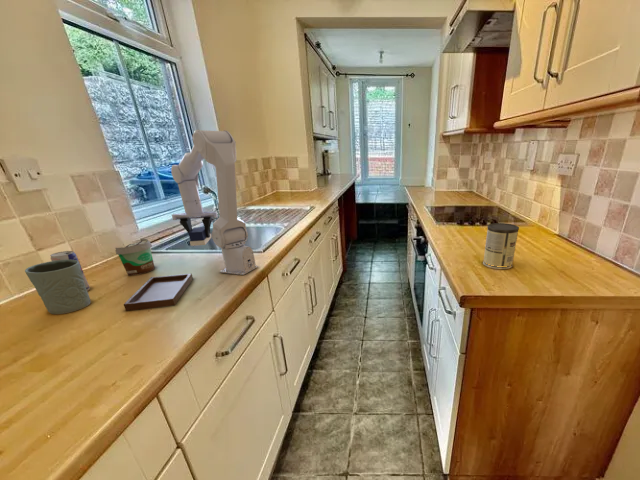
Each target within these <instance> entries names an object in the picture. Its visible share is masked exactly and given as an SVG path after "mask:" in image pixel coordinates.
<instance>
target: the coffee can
mask: <svg viewBox="0 0 640 480" xmlns="http://www.w3.org/2000/svg"><path fill="white" fill-rule="evenodd" d="M519 230H520V227H519V226H518V225H515V224H513V223H512V224H511V223H505V222H493V223H489V224H488V225H487V231H486V239H485V246H484V255H483V262H482V264H483V266H485V267H487V268H489V269H495V270H509V269H511V268H513V264H514V257H515V252H516V246H517V240H518V234H519ZM486 263H487V264H486ZM488 264H490V265H488ZM491 265H494V266H491ZM510 265H511V266H510ZM497 266H507V267H497Z"/></svg>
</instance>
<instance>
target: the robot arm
mask: <svg viewBox="0 0 640 480" xmlns="http://www.w3.org/2000/svg"><path fill="white" fill-rule="evenodd" d="M192 143H193V146H192V148H191V151H190V152H184V154H183V156H182V158H181V160H180V161H179V163H178V164H172V165H171V168H170V172H171V177H172V178H173V180H174V182H175V183H176V184H177V186H178V190H179V194H180V198H181V202H182V205H183V209H184V212H182V213H180V212H177V213H172V214H171V217H172V221H177V220H179V224H180V225H181V226H182V227H183V228H184V229H185V231H186V232H187V234H188V233H189V232H190V231H191V230H192V229H193V226H192V220H193V219H202V220H201V223H202V225H203V227H205V231H206V236H207V238H209V237H210V233H211V239H212V241H213V243H214V244H215V245H216V246H217V247H218V248H220V250H221V253H222V258H223V263H224V269H222V270H219V271H220V272H219V273H220V274H221V273H222V274H229V275H230V274H232V275H240V276H241V275H242V276H244V275H246V274H248V273H250V272H252V271H253V270H255V269H256V268H258V265H256V259H255V254H254V250H253V248H252V247H250V246H247V245H246V244H247V241H248V237H249V233H248V230H247V226H246V222H245V221H244V220H243V219H241V218H239V217H238V202H237V181H236V179H237V178H236V163H237V142H236V140H235V138H234V137H233V135H232V134H231V132H230V131H229V130H202V129H195V130H194V131H193V134H192ZM203 160H205V161H206V162H207V163H208V164H210V165H213V166H214V168H215V177H216V188H217V202H218V211H204V209H203V204H202V200H201V195H200V192H199V185H200V184H199V172H200V171H201V169H202V168H203V166H204V161H203ZM218 214H219V215H218ZM213 218H214V219H216V220H215V221H214V222H213V223H212V221H213ZM211 226H212V231H211Z"/></svg>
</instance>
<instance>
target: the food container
mask: <svg viewBox="0 0 640 480" xmlns="http://www.w3.org/2000/svg"><path fill="white" fill-rule="evenodd" d="M152 247H153V245H152V243H151V241H150V240H149V239H147V238H141V237H140V241H138V242H133V243H130V244H128V245H126V246H124V247H115V255H118V257H119V259H120V262H121V264H122V266H123V267H124V269H125V272H126V275H127V276H138V275H143V274H147V273H149V272H151V271H153V270H155V267H156V266H155V264H154V258H153V254H152V249H151V248H152Z"/></svg>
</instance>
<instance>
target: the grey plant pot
mask: <svg viewBox="0 0 640 480" xmlns="http://www.w3.org/2000/svg"><path fill="white" fill-rule="evenodd" d="M79 263H80V261H79V260H78V261H77V260H57V261H45V262H42V263H41V262H40V263H37V264H34V265H31V266H29V267H26V268H25V269H24V272H25V274H26V276H27V278H28V279H29V281H30V283H31V284H32V286H33V287H34V289H35V290H36V292H37V294H38V296H39V297H40V299H41V300H42V302H43V305H44V307H45V309H46V310H47V312H48V313H49V314H51V315H63V314H69V313H73V312H76V311H80V310H82V309H84V308H86V307H88V306H90V305H91V302H92V301H91V297H90V295H89V291H87V290H86V285H85V283H84V278H83V274H82V271H81V268H82V266H81V267H80V265H81V263H80V264H79Z"/></svg>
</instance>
